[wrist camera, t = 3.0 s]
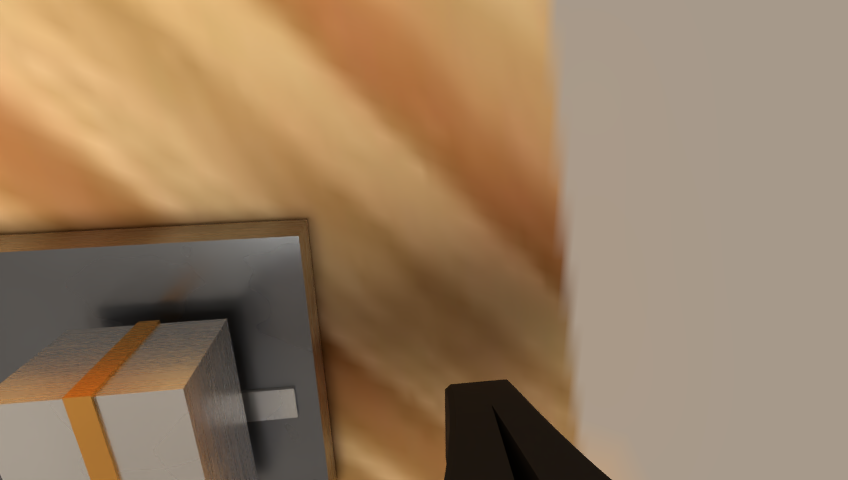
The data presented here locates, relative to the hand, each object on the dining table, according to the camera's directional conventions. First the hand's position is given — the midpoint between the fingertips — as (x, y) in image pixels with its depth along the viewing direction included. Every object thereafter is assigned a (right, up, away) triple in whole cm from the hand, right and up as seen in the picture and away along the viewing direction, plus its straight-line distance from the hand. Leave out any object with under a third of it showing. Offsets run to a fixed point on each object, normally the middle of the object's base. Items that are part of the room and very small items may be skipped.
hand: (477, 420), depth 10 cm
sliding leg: (-7, 0, 0) cm, 7 cm away
